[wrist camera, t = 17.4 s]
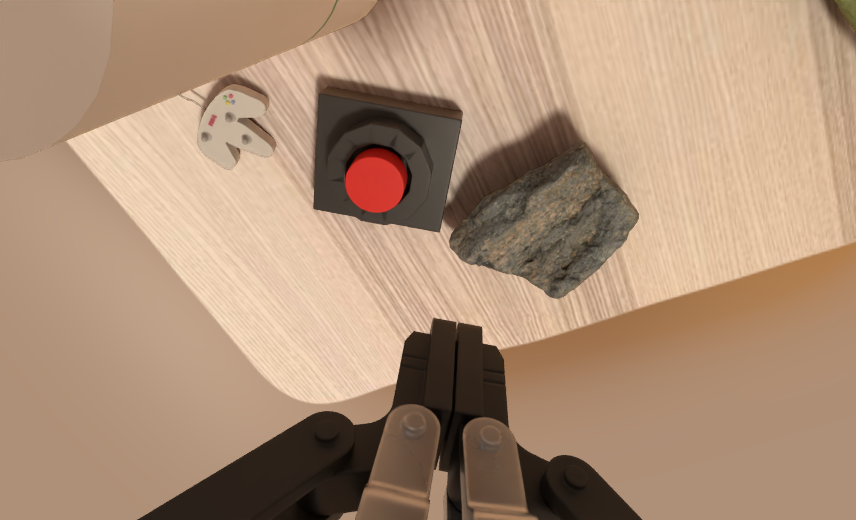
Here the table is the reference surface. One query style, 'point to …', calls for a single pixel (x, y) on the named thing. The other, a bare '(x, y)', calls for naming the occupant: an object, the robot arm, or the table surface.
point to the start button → (376, 180)
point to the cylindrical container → (134, 56)
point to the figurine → (848, 11)
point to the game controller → (233, 126)
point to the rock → (549, 224)
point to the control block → (392, 130)
